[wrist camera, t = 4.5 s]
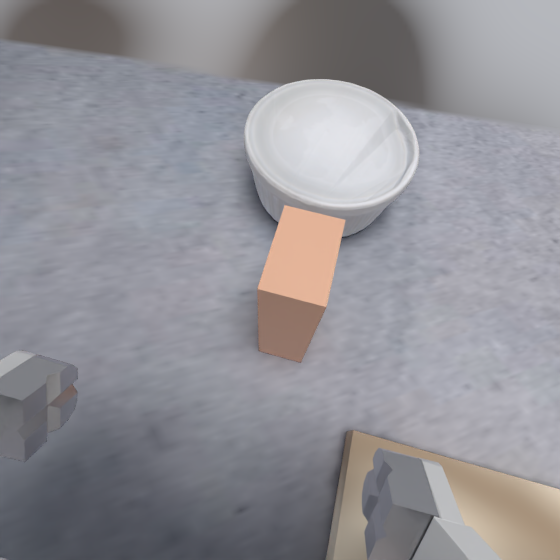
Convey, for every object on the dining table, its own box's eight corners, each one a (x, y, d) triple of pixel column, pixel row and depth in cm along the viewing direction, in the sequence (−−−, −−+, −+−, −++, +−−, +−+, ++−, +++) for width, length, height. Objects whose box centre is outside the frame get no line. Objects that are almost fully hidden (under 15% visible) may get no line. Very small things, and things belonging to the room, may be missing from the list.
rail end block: (300, 362, 21) (326, 307, 13) (258, 351, 21) (257, 288, 13) (315, 302, 22) (345, 219, 14) (276, 292, 23) (284, 204, 15)
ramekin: (399, 259, 24) (433, 213, 20) (239, 248, 24) (234, 199, 19) (385, 143, 29) (410, 84, 24) (253, 133, 29) (251, 71, 24)
